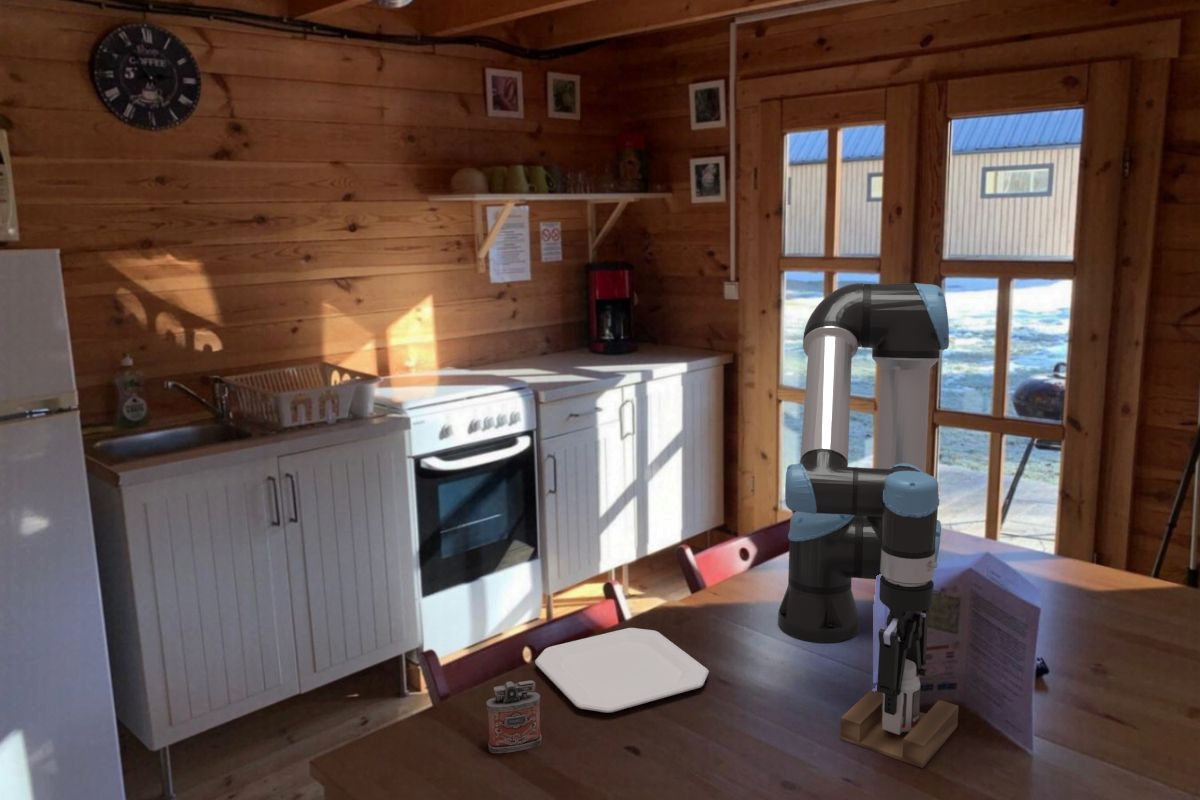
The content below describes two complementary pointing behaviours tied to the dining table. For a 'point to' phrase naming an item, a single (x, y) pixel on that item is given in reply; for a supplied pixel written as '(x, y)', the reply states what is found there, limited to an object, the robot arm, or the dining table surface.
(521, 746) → the lighter
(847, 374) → the robot arm
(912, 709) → the pill bottle
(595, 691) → the plate
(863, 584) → the dining table surface
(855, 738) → the groove block
